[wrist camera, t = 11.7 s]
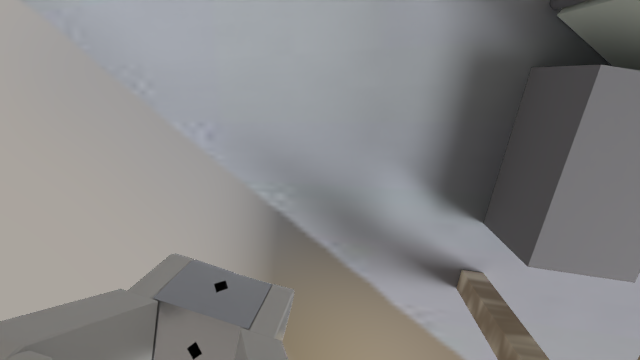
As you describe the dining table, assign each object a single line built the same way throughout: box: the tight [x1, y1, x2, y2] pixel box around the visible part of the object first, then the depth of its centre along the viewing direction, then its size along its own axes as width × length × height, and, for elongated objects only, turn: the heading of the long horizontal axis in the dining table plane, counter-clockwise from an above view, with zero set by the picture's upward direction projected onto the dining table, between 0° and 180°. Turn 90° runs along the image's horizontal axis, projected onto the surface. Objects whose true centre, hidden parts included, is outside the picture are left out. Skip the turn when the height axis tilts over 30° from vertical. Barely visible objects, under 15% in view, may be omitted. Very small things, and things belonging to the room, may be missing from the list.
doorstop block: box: [484, 65, 640, 283], centre depth 31 cm, size 16×9×9 cm, turn 172°
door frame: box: [457, 270, 640, 360], centre depth 24 cm, size 33×2×22 cm, turn 172°
